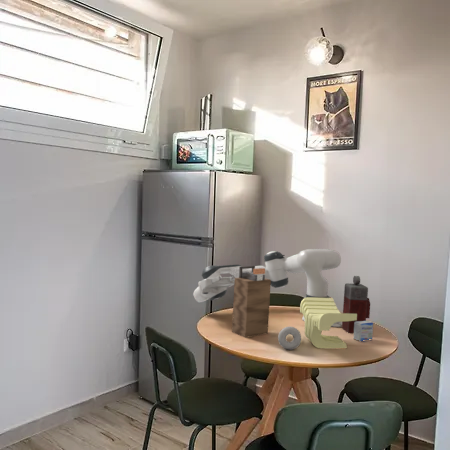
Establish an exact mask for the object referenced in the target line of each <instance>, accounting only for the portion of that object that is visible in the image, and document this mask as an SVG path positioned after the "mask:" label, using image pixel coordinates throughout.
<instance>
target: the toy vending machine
mask: <svg viewBox="0 0 450 450" xmlns="http://www.w3.org/2000/svg"><path fill="white" fill-rule="evenodd" d="M352 282H353V283H349V282H348V283H344V291H343V294H344V295H343V307H342V308H343V309H342V313H348V314H357V320H354V321H343V322H342V327H341V329H342V330H344V331H345V332H346V333H347V332H348V333H347V334H354V322H357V321H367V319H370V316H371V315H370V314H371V313H370V312H371V302H370V298H369V297H368V296H369V294H368V293H369V287H368V286H365V285H363V284H362V283H361V277H360V276H359V275H354V276H353V277H352Z"/></svg>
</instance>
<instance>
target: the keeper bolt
mask: <svg viewBox="0 0 450 450" xmlns="http://www.w3.org/2000/svg"><path fill="white" fill-rule="evenodd" d="M242 272H244V273H248V274H252V275H256V276H257V278H256V281H259V280H263V274H265V268H258V269H253V271H249V270H245V269H242ZM232 274H233V275H237V276H239V268H231V274H230V275H232ZM233 275H232V276H233Z"/></svg>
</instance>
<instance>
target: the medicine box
mask: <svg viewBox="0 0 450 450" xmlns="http://www.w3.org/2000/svg"><path fill="white" fill-rule="evenodd" d="M373 333H374V322H373V321H370V320H366V321H357V322H354V333H353V340H354V339H356V340H355V341H357V340H359V341H363V340H369V339H372V340H373ZM359 341H358V342H359ZM363 342H364V341H363Z"/></svg>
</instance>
